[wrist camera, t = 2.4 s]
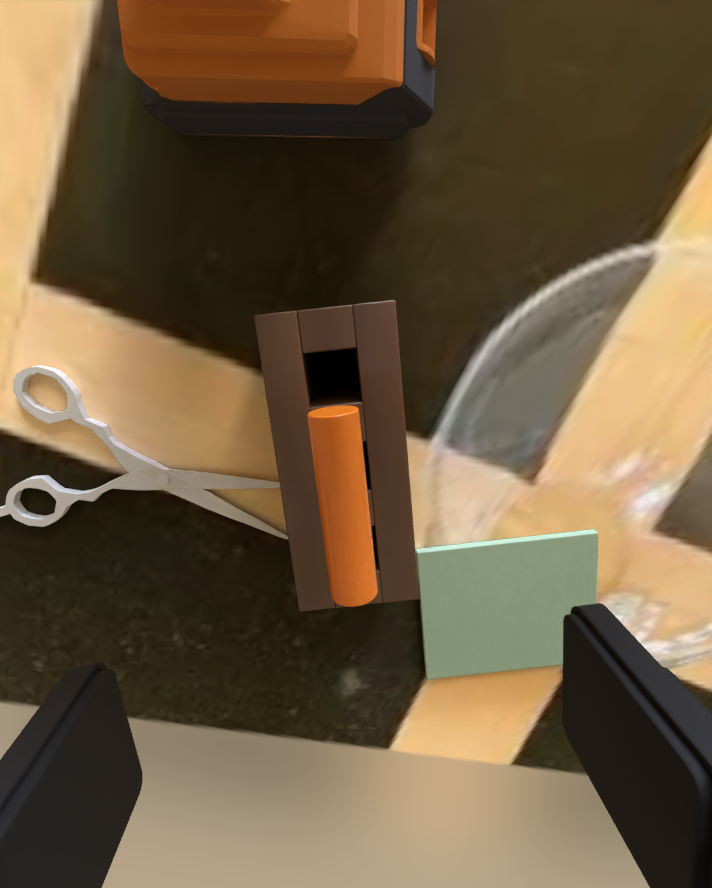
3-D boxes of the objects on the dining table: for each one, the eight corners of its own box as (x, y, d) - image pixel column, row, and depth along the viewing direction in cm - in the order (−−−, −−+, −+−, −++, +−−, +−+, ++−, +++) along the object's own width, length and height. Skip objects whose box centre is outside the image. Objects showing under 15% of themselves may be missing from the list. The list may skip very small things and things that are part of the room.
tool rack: (384, 302, 28) (395, 299, 23) (404, 548, 32) (419, 599, 27) (271, 314, 28) (253, 315, 23) (306, 559, 32) (299, 612, 27)
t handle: (351, 373, 29) (359, 413, 18) (364, 497, 31) (379, 604, 20) (318, 377, 29) (305, 418, 18) (333, 500, 31) (330, 609, 20)
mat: (593, 528, 33) (598, 532, 32) (590, 655, 35) (595, 661, 35) (415, 548, 33) (416, 552, 32) (425, 674, 35) (426, 680, 35)
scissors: (-13, 354, 28) (328, 439, 30) (-3, 353, 29) (329, 436, 30) (-25, 521, 30) (289, 590, 32) (-16, 516, 31) (290, 584, 33)
